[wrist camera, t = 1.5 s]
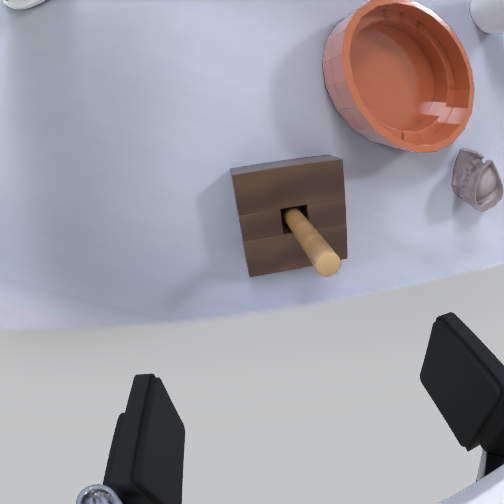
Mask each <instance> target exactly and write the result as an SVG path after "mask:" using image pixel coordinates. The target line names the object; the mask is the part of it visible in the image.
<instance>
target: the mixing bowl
mask: <svg viewBox="0 0 504 504" xmlns="http://www.w3.org/2000/svg"><path fill="white" fill-rule="evenodd" d="M322 65H323V71H324V77H325V84H326V88H327V90H328V92H329V94H330V97H331V99H332V101H333V103H334V105H335V107H336V109H337V111H338V112H339V113H340V114H341V115H342V117H343V118H344V119H345V120H346V121H347V123H348V124H349V125H350V126H351V127H352V128H353V129H354V130H356V131H357V132H358V133H360V134H361V135H363V136H364V137H366V138H367V139H369V140H370V141H373V142H376V143H380V144H383V145H386V146H389V147H394V148H398V149H403V150H407V151H411V152H415V153H419V152H436V151H438V150H440V149H442V148H444V147H446V146H448V145H450V144H452V143H453V142H454V141H455V139H456V138H457V137H458V136H459V135H460V134H461V133H462V132H463V131H464V129H465V127H466V125H467V122H468V120H469V118H470V115H471V113H472V107H473V99H474V83H473V75H472V69H471V66H470V63H469V60H468V58H467V55H466V52H465V50H464V48H463V46H462V44H461V43H460V41H459V40H458V38H457V37H456V35H455V34H454V32H453V31H452V29H451V28H450V27H449V26H448V25H447V24H446V23H445V22H444V21H443V20H442V19H441V18H440V17H439V16H438V15H437V14H436V13H434V12H433V11H431V10H430V9H428V8H426V7H424V6H422V5H421V4H419V3H417V2H415V1H412V0H371V1H370V2H368V3H367V4H365V5H364V6H362V7H361V8H359V9H358V10H356V11H355V12H353V13H352V14H350V15H349V16H348V17H346V18H345V19H343V20H342V21H341V22H339V23H338V24H337V25H336V26H335V28H334V29H333V31H332V33H331V34H330V36H329V38H328V39H327V41H326V44H325V51H324V57H323V64H322Z"/></svg>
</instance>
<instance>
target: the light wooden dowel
mask: <svg viewBox="0 0 504 504" xmlns="http://www.w3.org/2000/svg"><path fill="white" fill-rule="evenodd" d="M280 210H281V215H282V217H283V218H284V220H285V222H286V223H287V225H288V226H289V228H290V229H291V231H292V232H293V234H294V236H295V237H296V239H297V240H298V242H299V243H300V245H301V247H302V248H303V250H304V251H305V253H306V255H307V256H308V258H309V259H310V261H311V263H312V264H313V266H314V267H315V269H316V271H317V272H318V273H319V274H320V275H322V276H331V275H333V274H335V273H336V272H337V271H338V269H339V267H340V258H339V257H338V255H337V254H336V253H335V252H334V250H333V249H332V248H331V247H330V246H329V244H328V243H327V242H326V241H325V240H324V238H323V237H322V236H321V235H320V234H319V233H318V231H317V230H316V229H315V228H314V227H313V225H312V224H311V223H310V222H309V221H308V220H307V218H306V217H305V216H304V215H303V214H302V213H301V212H300V210H299V209H298V208H297V207H289V208H283V209H280Z"/></svg>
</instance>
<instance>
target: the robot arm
mask: <svg viewBox="0 0 504 504" xmlns="http://www.w3.org/2000/svg"><path fill="white" fill-rule="evenodd" d="M44 1H45V0H3V2H4V3H5V5H7V6H8V7H11V8H13V9H19V10H21V9H28V8H31V7H34V6H36V5H38V4H40V3H42V2H44ZM420 379H421V382H422V384H423V386H424V387H425V389H426V390H427V392H428V393H429V395H430V396H431V398H432V400H433V401H434V403H435V404H436V406H437V407H438V409H439V411H440V412H441V414H442V415H443V417H444V419H445V420H446V422H447V423H448V425H449V427H450V428H451V430H452V432H453V433H454V435H455V437H456V438H457V440H458V442H459V443H460V445H461V446H463V447H466V449H467V451H470V450H472V449H473V448H475V447H477V446H479V444H480V445H481V447H482V448H483V450H482V456H481V461H480V466H479V470H478V475H477V479H476V482H475V483H474V484H472V485H470V486H469V487H467V488H465V489H464V490H462V491H460V492H459V493H457V494H455V495H453V496H451V497H449V498H447V499H445V500H444V501H442V502H439V503H438V504H504V365H503V364H502V363H501V362H500V361H499V360H498V359H497V358H496V356H495V355H494V354H493V353H492V352H491V351H490V350H489V349H488V348H487V347H486V346H485V345H484V344H483V343H482V342H481V340H480V339H479V338H478V337H477V336H476V335H475V334H474V333H473V332H472V331H471V330H470V329H469V328H468V327H467V326H466V325H465V324H464V323H463V322H462V321H461V320H460V319H459V318H458V317H457V316H456V315H455V314H454V313H451V312H450V313H447V314H444V315H442V316H439V317H437V319H436V322H434V323H433V327H432V331H431V335H430V339H429V343H428V347H427V351H426V355H425V359H424V363H423V366H422V369H421V373H420ZM184 443H185V429H184V425H183V422H182V421H181V419H180V417H179V415H178V413H177V411H176V409H175V407H174V405H173V403H172V402H171V399H170V397H169V395H168V393H167V391H166V389H165V387H164V385H163V383H162V381H161V379H160V378H156V377H155V375H154V374H141V375H136V376H135V377H134V380H133V385H132V388H131V392H130V395H129V399H128V404H127V407H126V411H125V413H121V414H120V415H119V418H118V420H117V424H116V428H115V432H114V436H113V441H112V445H111V449H110V454H109V458H108V462H107V467H106V471H105V476H104V481H103V485H100V484H97V485H91V486H88V487H86V488H85V489H83V490H82V491H81V492H80V494H79V495H78V497H77V500H76V504H182V481H183V480H182V479H183V459H184Z"/></svg>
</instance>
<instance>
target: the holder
mask: <svg viewBox="0 0 504 504" xmlns="http://www.w3.org/2000/svg"><path fill="white" fill-rule="evenodd" d="M230 170H231V176H232V181H233V187H234V193H235V199H236V205H237V210H238V216H239V222H240V227H241V233H242V239H243V245H244V250H245V256H246V262H247V267H248V272H249V277H253V276H259V275H264V274H270V273H275V272H280V271H286V270H291V269H296V268H302V267H307V266H312V265H313V264H312V263H311V261H310V259H309V258H308V256H307V255H306V253H305V251H304V250H303V248H302V247H301V245H300V243H299V242H298V240H297V239H296V237H295V236H294V234H293V232H292V231H291V229H290V228H289V226H288V225H287V223H286V222H285V221H282V217H281V210H280V209H283V208H289V207H296V206H299V210H300V212H301V213H302V214H303V215H304V216H305V217H306V218H307V220H308V221H309V222H310V223H311V224H312V225H313V227H314V228H315V229H316V230H317V231H318V233H319V234H320V235H321V236H322V237H323V238H324V240H325V241H326V242H327V243H328V244H329V246H330V247H331V248H332V249H333V250H334V252H335V253H336V254H337V255H338V257H339V258H340V260H342V259H347V228H346V206H345V189H344V175H343V163H342V159H339V158H336V157H333V156H330V155H322V156H313V157H305V158H297V159H290V160H283V161H276V162H269V163H262V164H256V165H250V166H244V167H238V168H232V169H230Z"/></svg>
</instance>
